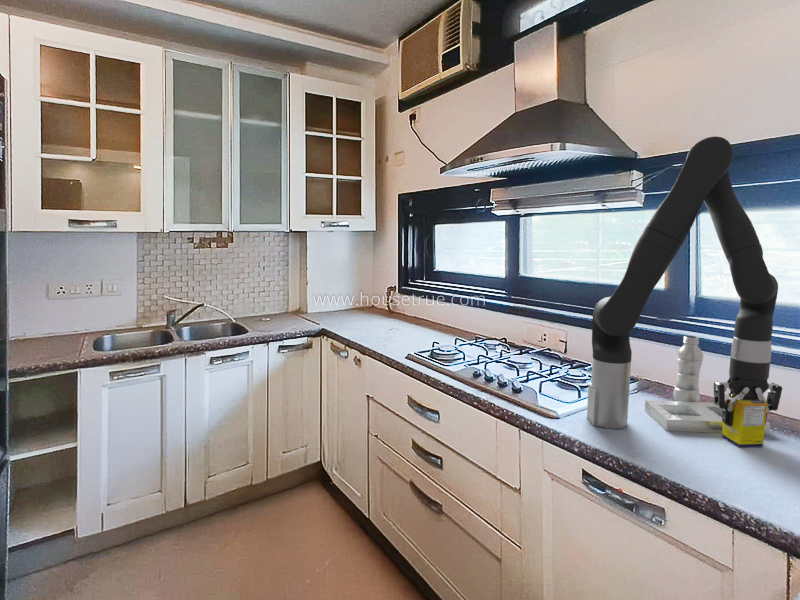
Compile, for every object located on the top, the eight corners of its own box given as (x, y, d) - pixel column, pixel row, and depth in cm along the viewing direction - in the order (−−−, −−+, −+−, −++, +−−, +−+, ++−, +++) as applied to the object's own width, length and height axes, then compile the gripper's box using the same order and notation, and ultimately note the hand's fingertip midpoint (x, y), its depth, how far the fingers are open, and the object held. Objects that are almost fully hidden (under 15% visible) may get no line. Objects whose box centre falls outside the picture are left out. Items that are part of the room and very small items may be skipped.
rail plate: (666, 430, 120) (667, 419, 120) (644, 410, 134) (645, 400, 133) (768, 435, 117) (770, 423, 117) (736, 413, 131) (737, 403, 131)
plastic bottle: (668, 399, 143) (673, 334, 140) (692, 400, 142) (698, 334, 139) (678, 407, 136) (683, 339, 134) (703, 408, 135) (709, 339, 133)
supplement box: (744, 436, 116) (748, 393, 115) (763, 447, 110) (768, 402, 109) (720, 437, 116) (724, 394, 115) (738, 447, 110) (743, 402, 109)
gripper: (726, 360, 108) (719, 430, 110) (795, 362, 106) (787, 433, 108) (708, 352, 115) (703, 418, 117) (773, 354, 113) (765, 420, 116)
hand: (743, 425), depth 113 cm, fingers closed on supplement box, 6 cm apart
